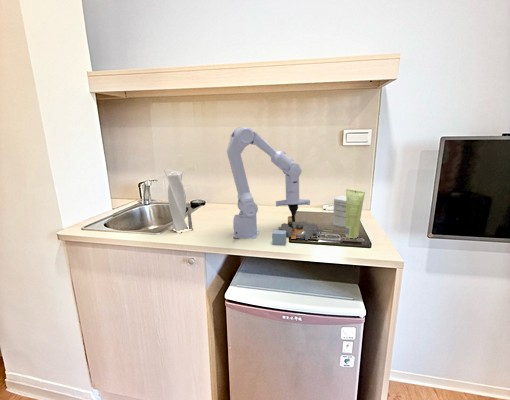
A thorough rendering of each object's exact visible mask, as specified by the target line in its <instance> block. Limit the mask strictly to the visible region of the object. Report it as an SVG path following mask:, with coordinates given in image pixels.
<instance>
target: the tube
mask: <svg viewBox="0 0 510 400" xmlns="http://www.w3.org/2000/svg"><path fill="white" fill-rule="evenodd" d="M345 193H346V194H345V196H346V227H345V235H344V236H346V237H349V238H357V237H358V238H359V236H360V234H359V233H360V227H361V219H362V218H361V217H362V211H363V204H364V201H365V195H366V191H362V190H354V189H349V188H348V189H347V188H346V189H345ZM346 237H345V238H346Z"/></svg>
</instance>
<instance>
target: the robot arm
mask: <svg viewBox="0 0 510 400" xmlns="http://www.w3.org/2000/svg"><path fill="white" fill-rule="evenodd" d="M249 145H253V146H257V148H259V149H260V150H261V151H263V152H264V153H265V154H266V155H268V156H269V157H270V162H271V163H272V164H274V165H275V166H276V167H277V168H279V170H280V171H282V174H284V175H285V179H284V181H285V199H282V200H275V206H276V207H279V206H280V207H282V206H283V207H284V206H287V207H288V209H289V212H290V213H291V216H292V222H296V217H295V216H296V213H297V211H298V209H299V206H306V205H307V206H310V205H311V200H310V199H302V198H300V176H301V175H302V171H303V170H302V169H301V167H300V164H298V163H295V162H294V159H292V158H290V157H288V156H287V155H286V152H285V151H284V150H276V149H275V148H274V147H272V146H271V145H270V143H268V142H267V141H266V140H265V139H264V138H263V137H262V136H261V135H259V133H258V132H256V131H253V129H251V127H248V126H245V127H242V126H241V127H237V128H235V129H234V130H233V131H232V133H231V134H230V139H229V142H228V145H227V149H226V154H227V157H228V161H229V165H230V169H231V173H232V176H233V180H234V183H235V187H236V192H237V208H238V210H239V213H238V214H235V215H234V216H233V219H232V220H233V221H232V222H233V223H232V225H233V227H232V228H233V238H234V239H257V237H258V235H259V234H260V230H258V226H257V225H258V224H257V220H258V219H257V213H258V212H259V211H258V210H259V207H258V205H257V204H256V202H255V200H254V198H253V195H252V193H251V191H250V187H249V183H248V178H247V175H246V171H245V166H244V161H243V158H242V153H243V151H244V150H245V149H246V147H248V146H249Z"/></svg>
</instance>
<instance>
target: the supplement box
mask: <svg viewBox="0 0 510 400" xmlns="http://www.w3.org/2000/svg"><path fill="white" fill-rule="evenodd" d="M332 215H333V218H332V221H333V222H332V225H333V226H337V227H341V228H346V195H338V196H337V197H335V198H334V199H333V214H332Z"/></svg>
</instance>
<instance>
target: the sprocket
mask: <svg viewBox="0 0 510 400" xmlns="http://www.w3.org/2000/svg"><path fill="white" fill-rule="evenodd" d="M278 230H282V231H286V238H288V239H290V240H291V239H296V238H297V237H300V238H304V239H305V240H307V241H309V240H308V239H310V240H311V238H310V237H312V236H315V237H317V236H319V237H320V234H319V232H321V233H322V228H321V227H318V225H317V224H316V223H309V222H307V221H305V220H304V221H303V220H302V221H295V222H292V215H291V216H289V215H288V216H287V223H284V222H283V223H282V224H281V225H280V226H279V227H278ZM289 237H291V238H289ZM304 239H303V240H304ZM305 240H304V241H305Z"/></svg>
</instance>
